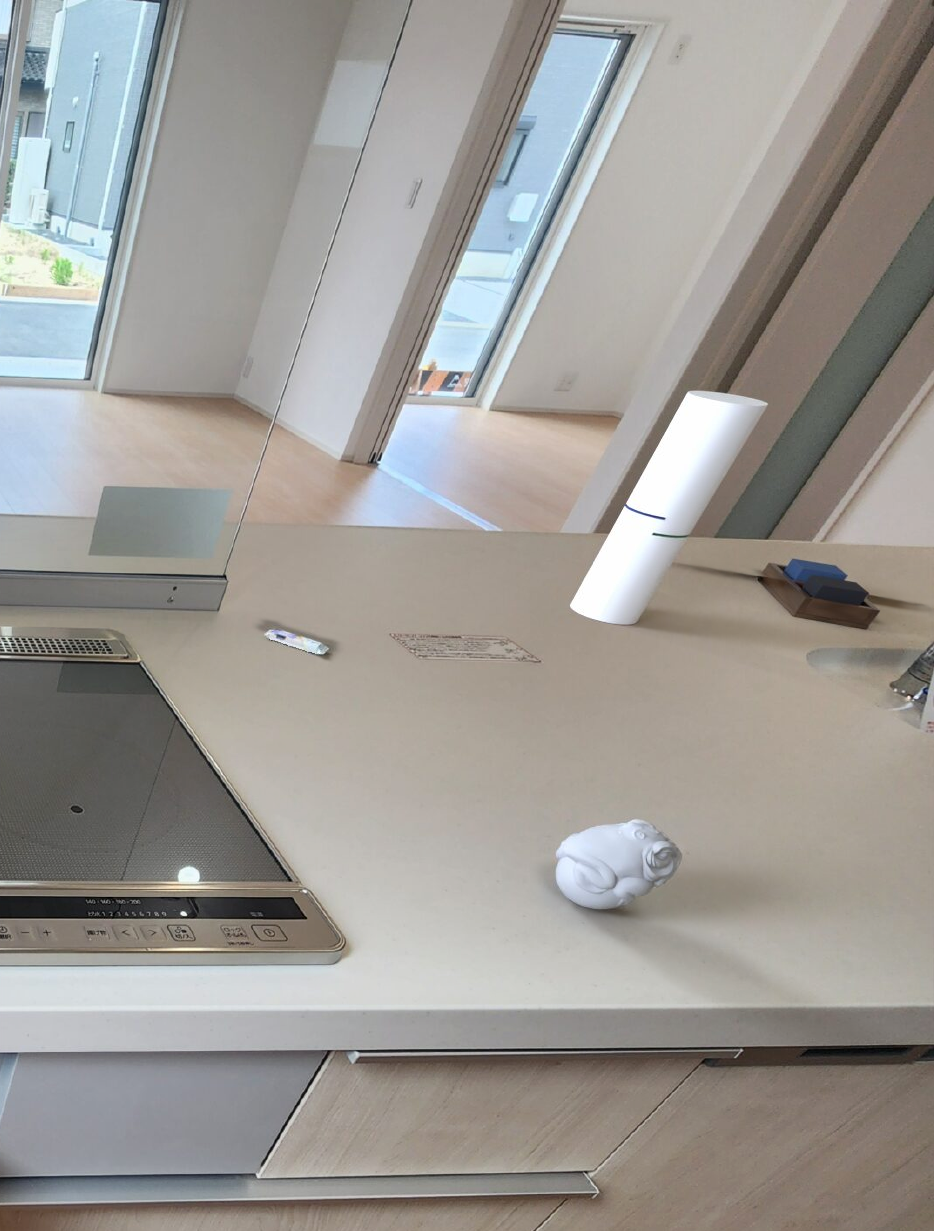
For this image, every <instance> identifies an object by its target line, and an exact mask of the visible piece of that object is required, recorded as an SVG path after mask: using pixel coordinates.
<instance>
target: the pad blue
mask: <svg viewBox="0 0 934 1231" xmlns="http://www.w3.org/2000/svg"><path fill="white" fill-rule="evenodd" d="M784 573H785V574H786V575H787V576H789V577H790V578H791V579H792V580H797V581H803V582H806V581H807V579H808V578H809V576H810V575H816V576H822V577H828V578H834V579H840V580H846V579H847V577H848V574H847V573H845V572H844V571H843V570H842V569H841V568H839V566H837V565H836V564H830V563H823V562H817V561H811V560H804V559H800V558H792V559H791V560H790V561H789V563H788V564H787V567H786V569H785V570H784Z"/></svg>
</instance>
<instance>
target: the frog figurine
mask: <svg viewBox="0 0 934 1231" xmlns="http://www.w3.org/2000/svg"><path fill="white" fill-rule="evenodd" d="M555 857H556V858H557V860H558V862H557V865H556V868H555V881H556V884H557V886H558V888H559V890H560V892H561V893H562V894H563V895H564V896H565V897H566V898H567V899H568V900H570V901H571V902H573V903H574V904H576V905H579V906H581V907H583V908H587V909H591V910H592V909H593V910H609V909H615V908H618V907H621V906H627V905H628V904H630V903H632V902H634V901H635V897H636V896H637V897H639V896H640V897H642V896H646V895H648V894H650V893H651V892H652V891H653V889H654V888H658V887H661V886H662V885H665V884H666V883H667V882H669V880H671V879H672V877H674V875H675V874H676V872H677V871H678V869H679V866H680V865H681V863H682V862H681V861H682V859H683V853H682V852H681V850H680V848H679V847H678V846H677V844H676V843H675V842H673V841H672V840H671V839H670V838H669V837H668V836H667V834H666V833H665V832H664V831H662V830H661V829H658V828H657V826H655V825H654V824H653V823H651V822H650V821H647V820H644V819H639V818H633V819H632V820H630V821H628V822H621V823H611V824H601V825H596V826H592V827H590V828H587V829H585V830H583V831H581V832H575V833H572V834H571V835H569V836H568V837H567V838H566V839H564V840H562V841H561V843H560V845H559V847H558V848H557V850H556V852H555Z"/></svg>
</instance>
